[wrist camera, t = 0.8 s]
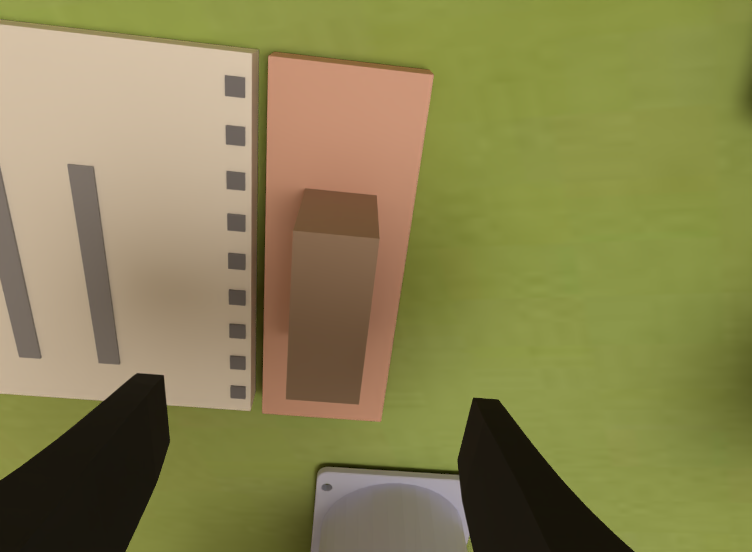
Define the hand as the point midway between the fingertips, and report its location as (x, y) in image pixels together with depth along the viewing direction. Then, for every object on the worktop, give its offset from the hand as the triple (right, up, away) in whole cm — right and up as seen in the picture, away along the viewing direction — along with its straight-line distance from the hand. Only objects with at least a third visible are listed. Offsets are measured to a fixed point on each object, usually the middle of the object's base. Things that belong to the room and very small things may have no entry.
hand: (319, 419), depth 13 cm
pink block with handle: (0, +4, +8) cm, 9 cm away
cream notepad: (-9, +5, +7) cm, 13 cm away
